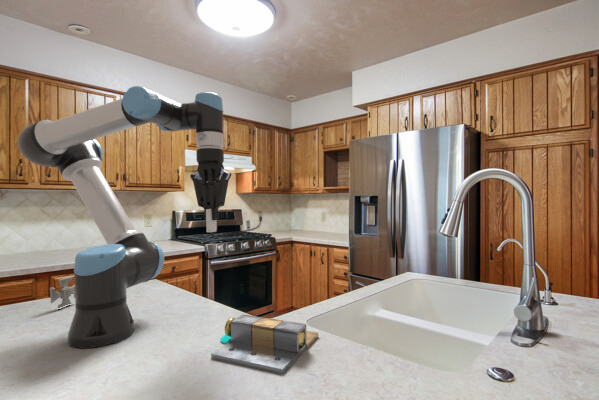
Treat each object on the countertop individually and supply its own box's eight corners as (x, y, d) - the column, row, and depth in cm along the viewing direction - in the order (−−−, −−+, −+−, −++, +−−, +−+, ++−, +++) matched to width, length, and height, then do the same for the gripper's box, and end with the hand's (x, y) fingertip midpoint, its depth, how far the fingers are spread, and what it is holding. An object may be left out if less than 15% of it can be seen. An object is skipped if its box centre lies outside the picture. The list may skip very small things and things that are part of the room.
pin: (224, 338, 84) (224, 321, 84) (235, 332, 88) (234, 315, 88) (298, 352, 76) (297, 333, 76) (306, 344, 80) (305, 326, 80)
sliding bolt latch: (211, 358, 76) (210, 332, 76) (258, 326, 94) (257, 305, 94) (282, 374, 69) (282, 345, 69) (318, 336, 87) (318, 314, 87)
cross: (54, 312, 109) (53, 281, 109) (47, 312, 110) (46, 281, 110) (81, 303, 119) (81, 274, 119) (75, 302, 120) (75, 274, 120)
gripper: (182, 149, 96) (184, 232, 96) (220, 145, 91) (222, 233, 91) (200, 152, 103) (202, 230, 103) (236, 148, 97) (238, 231, 98)
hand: (211, 231), depth 97 cm, fingers closed
